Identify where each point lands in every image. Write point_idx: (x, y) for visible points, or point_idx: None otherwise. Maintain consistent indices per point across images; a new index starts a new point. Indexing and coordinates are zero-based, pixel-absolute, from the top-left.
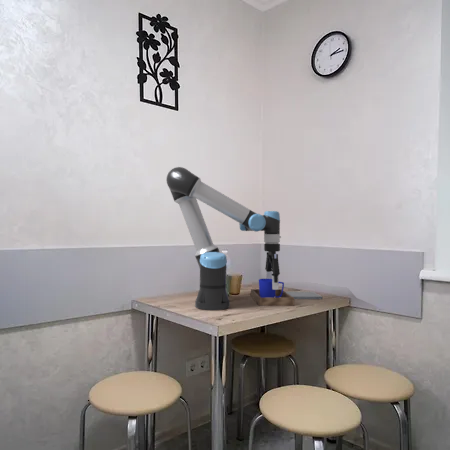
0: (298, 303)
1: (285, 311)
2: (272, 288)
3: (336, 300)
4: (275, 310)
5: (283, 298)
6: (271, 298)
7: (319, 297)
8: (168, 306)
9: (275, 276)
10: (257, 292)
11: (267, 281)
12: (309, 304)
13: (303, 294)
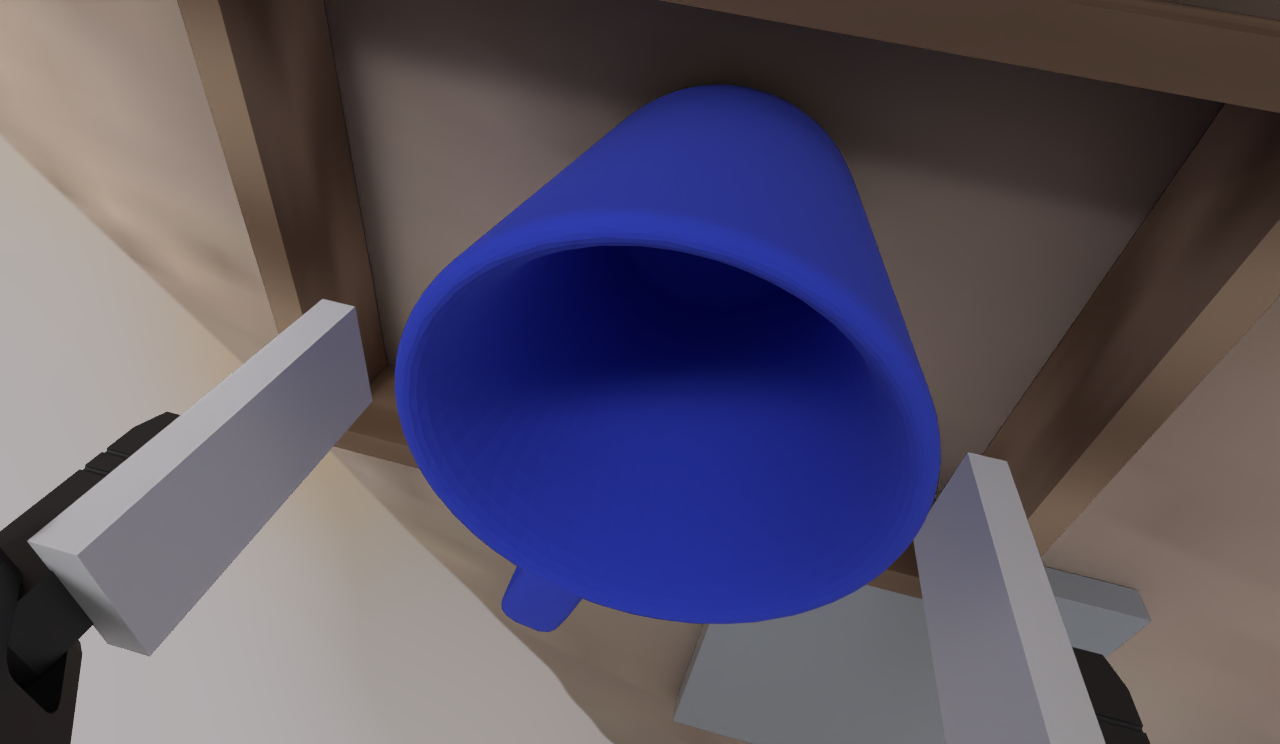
0: None
1: (35, 152)
2: (331, 314)
3: (609, 724)
4: (27, 36)
5: (280, 323)
6: (226, 140)
7: (678, 701)
8: None
9: (10, 548)
10: (1213, 217)
11: (399, 365)
12: (451, 524)
13: (821, 685)
